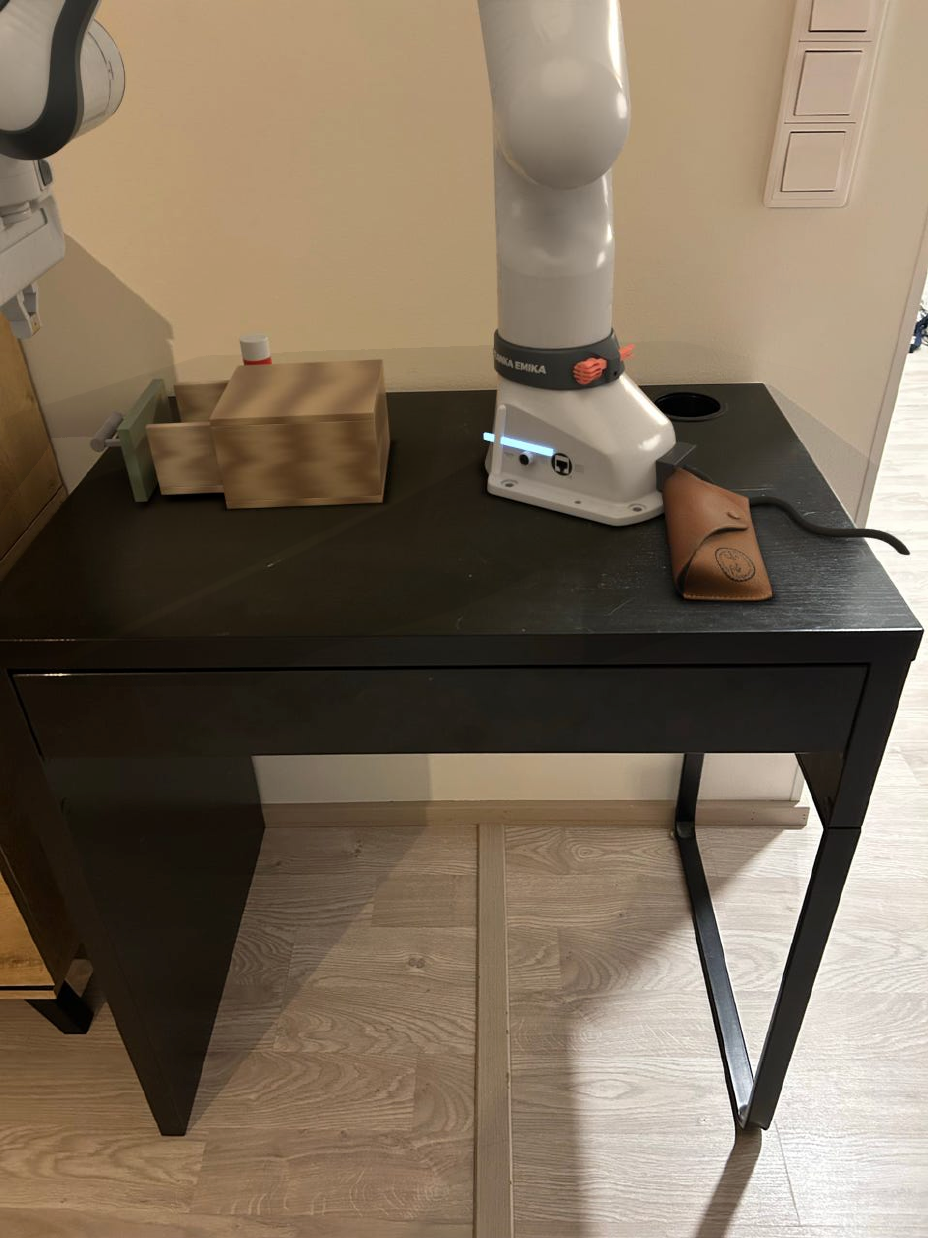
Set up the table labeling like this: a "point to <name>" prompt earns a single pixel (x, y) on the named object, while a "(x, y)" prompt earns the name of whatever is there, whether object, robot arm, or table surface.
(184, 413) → the drawer
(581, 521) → the table surface
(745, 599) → the sunglasses case
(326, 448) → the cabinet
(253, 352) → the glue stick
